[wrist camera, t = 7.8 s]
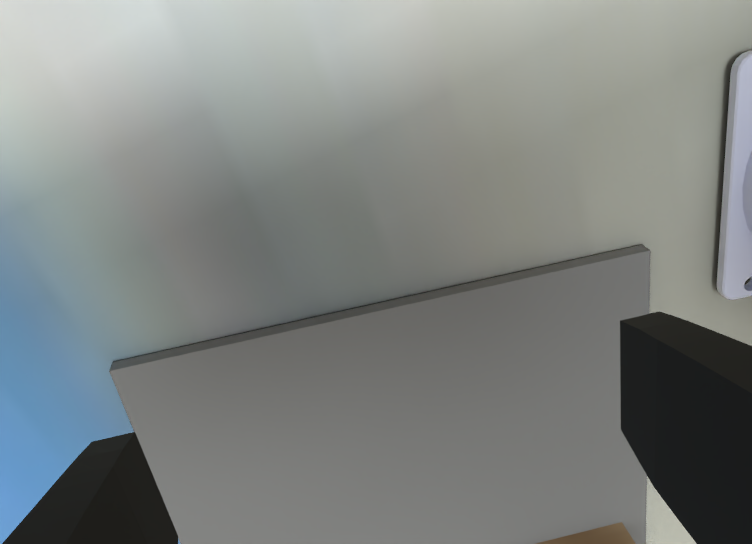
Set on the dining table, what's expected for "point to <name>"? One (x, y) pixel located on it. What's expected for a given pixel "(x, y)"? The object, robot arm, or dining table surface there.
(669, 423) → the robot arm
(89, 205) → the dining table surface
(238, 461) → the slate mat
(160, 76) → the dining table surface
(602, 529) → the oak tower base block
